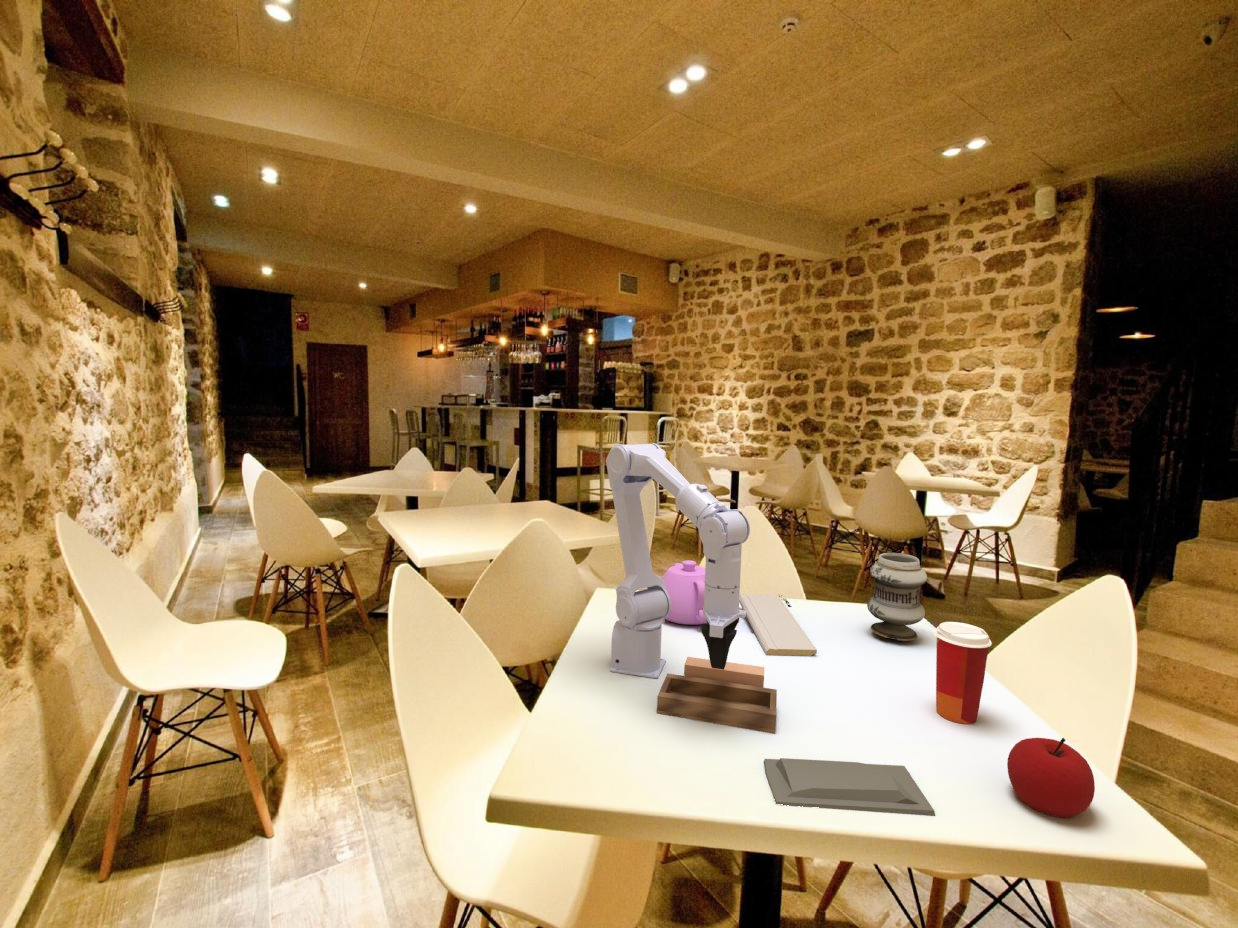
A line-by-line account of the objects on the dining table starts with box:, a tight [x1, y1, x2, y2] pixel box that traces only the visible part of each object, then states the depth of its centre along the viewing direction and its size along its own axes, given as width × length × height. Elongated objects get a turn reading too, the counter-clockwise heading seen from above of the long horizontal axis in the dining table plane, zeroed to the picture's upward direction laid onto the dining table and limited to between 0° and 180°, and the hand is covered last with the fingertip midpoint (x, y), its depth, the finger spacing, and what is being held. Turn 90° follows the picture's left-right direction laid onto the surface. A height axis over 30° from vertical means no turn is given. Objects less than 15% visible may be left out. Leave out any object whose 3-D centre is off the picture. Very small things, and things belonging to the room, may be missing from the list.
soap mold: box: [763, 757, 936, 817], centre depth 77 cm, size 10×20×4 cm, turn 87°
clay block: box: [683, 656, 765, 688], centre depth 104 cm, size 14×4×5 cm, turn 74°
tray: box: [656, 672, 778, 735], centre depth 96 cm, size 19×9×4 cm, turn 74°
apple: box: [1006, 737, 1096, 819], centre depth 74 cm, size 9×9×10 cm
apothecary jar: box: [866, 552, 928, 642], centre depth 132 cm, size 12×12×18 cm
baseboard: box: [739, 593, 818, 657], centre depth 134 cm, size 31×3×12 cm
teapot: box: [661, 559, 708, 626], centre depth 141 cm, size 22×22×14 cm
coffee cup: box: [933, 621, 993, 725], centre depth 96 cm, size 8×8×15 cm
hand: (719, 662), depth 95 cm, fingers open, 3 cm apart
